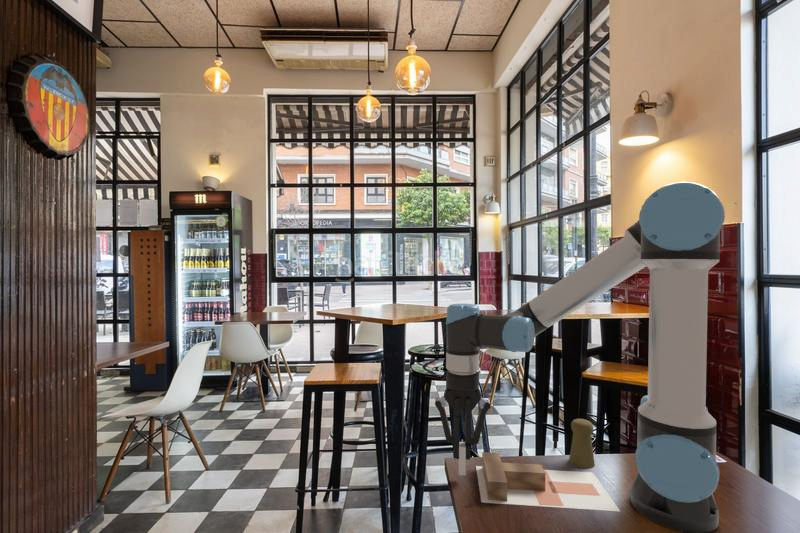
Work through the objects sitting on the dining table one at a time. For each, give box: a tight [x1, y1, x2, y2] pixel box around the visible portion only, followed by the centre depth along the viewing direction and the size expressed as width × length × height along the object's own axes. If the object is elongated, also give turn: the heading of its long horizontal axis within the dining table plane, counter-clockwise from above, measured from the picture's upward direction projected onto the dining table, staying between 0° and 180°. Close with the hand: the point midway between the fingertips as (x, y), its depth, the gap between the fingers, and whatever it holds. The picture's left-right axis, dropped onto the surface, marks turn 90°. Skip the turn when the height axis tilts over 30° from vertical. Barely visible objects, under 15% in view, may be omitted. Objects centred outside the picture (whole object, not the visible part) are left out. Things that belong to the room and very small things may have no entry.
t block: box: [481, 451, 545, 501], centre depth 95 cm, size 13×14×4 cm
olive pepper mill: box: [568, 418, 596, 469], centre depth 106 cm, size 6×6×11 cm
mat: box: [475, 465, 621, 513], centre depth 94 cm, size 28×16×1 cm, turn 84°
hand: (462, 472), depth 96 cm, fingers closed
